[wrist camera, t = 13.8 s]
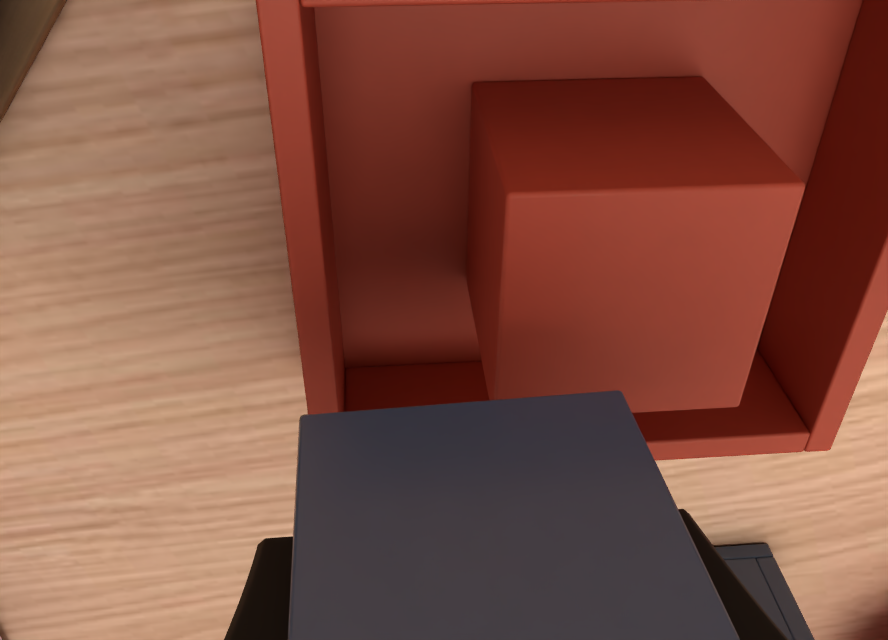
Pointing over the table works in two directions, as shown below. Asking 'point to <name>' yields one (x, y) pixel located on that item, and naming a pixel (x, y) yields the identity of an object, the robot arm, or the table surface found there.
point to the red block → (622, 239)
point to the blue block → (492, 527)
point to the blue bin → (767, 587)
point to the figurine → (22, 40)
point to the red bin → (447, 186)
